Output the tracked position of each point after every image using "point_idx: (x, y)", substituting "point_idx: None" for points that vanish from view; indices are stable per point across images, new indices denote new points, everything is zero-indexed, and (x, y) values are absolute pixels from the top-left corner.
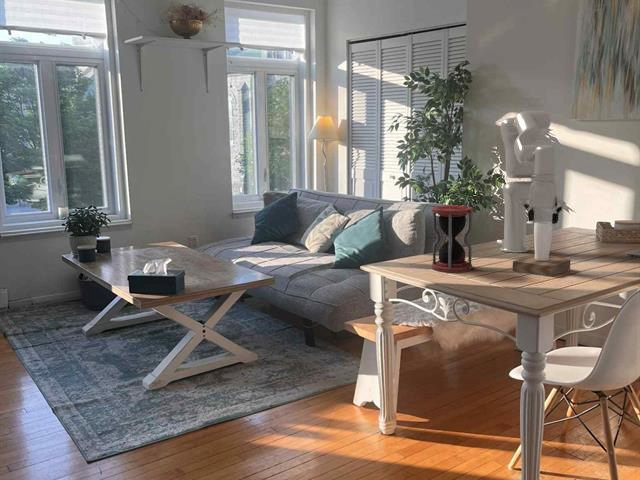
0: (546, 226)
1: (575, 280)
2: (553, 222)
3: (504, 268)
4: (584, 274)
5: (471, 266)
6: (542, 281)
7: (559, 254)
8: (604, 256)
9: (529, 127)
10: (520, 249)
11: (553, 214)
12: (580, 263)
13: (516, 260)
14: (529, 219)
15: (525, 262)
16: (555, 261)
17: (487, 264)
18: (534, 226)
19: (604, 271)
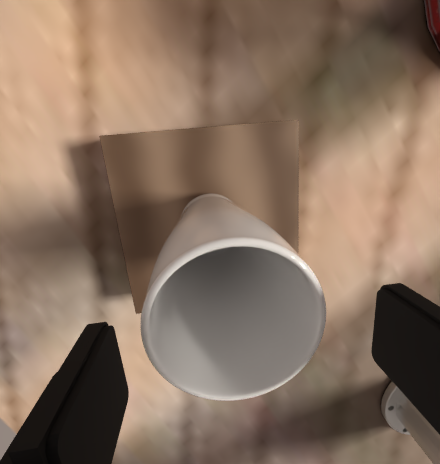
0: (160, 266)
1: (9, 148)
2: (86, 330)
3: (327, 141)
4: (58, 261)
5: (437, 7)
6: (82, 27)
7: (288, 435)
8: None
9: None
10: (402, 394)
11: (30, 432)
12: None
13: (291, 141)
14: (402, 293)
15: (237, 130)
16: (154, 241)
17: (409, 157)
18: (291, 246)
19: (46, 344)
